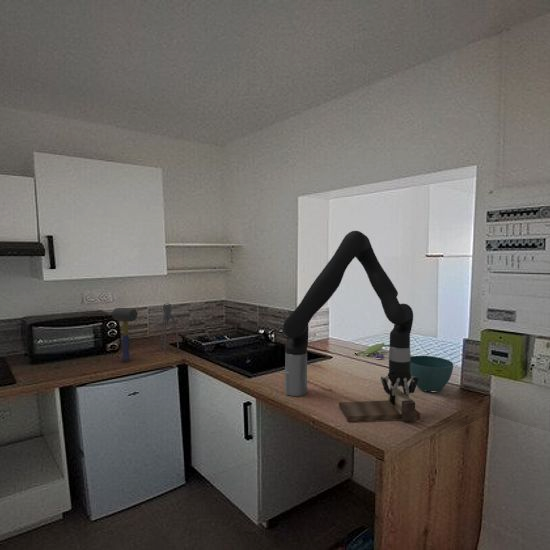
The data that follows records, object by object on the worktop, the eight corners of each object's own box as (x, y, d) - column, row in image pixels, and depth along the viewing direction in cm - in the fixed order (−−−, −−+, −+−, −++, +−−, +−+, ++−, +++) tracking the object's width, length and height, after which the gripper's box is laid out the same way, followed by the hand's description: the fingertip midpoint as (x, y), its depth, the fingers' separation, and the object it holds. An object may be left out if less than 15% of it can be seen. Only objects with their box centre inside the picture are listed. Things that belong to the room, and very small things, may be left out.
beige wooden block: (403, 421, 123) (404, 403, 123) (387, 404, 137) (387, 388, 137) (415, 421, 123) (415, 402, 123) (397, 404, 137) (397, 387, 137)
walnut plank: (348, 422, 124) (348, 416, 124) (339, 407, 136) (339, 402, 136) (419, 418, 126) (419, 413, 126) (404, 404, 138) (404, 399, 138)
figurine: (407, 355, 209) (407, 345, 208) (374, 362, 195) (374, 352, 195) (383, 348, 225) (383, 339, 224) (351, 354, 211) (351, 345, 211)
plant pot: (415, 378, 167) (416, 353, 167) (457, 388, 155) (458, 360, 155) (400, 389, 154) (400, 361, 153) (445, 400, 142) (446, 370, 141)
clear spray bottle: (161, 350, 223) (160, 302, 221) (178, 350, 222) (178, 302, 221) (155, 354, 213) (154, 304, 211) (173, 354, 212) (172, 304, 211)
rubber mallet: (139, 360, 200) (138, 307, 199) (130, 364, 193) (128, 309, 192) (122, 358, 205) (120, 306, 203) (112, 361, 198) (110, 308, 196)
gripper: (384, 361, 126) (384, 409, 127) (423, 360, 128) (422, 407, 128) (376, 356, 134) (376, 400, 135) (413, 355, 135) (412, 399, 136)
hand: (399, 403), depth 131 cm, fingers closed on beige wooden block, 4 cm apart
